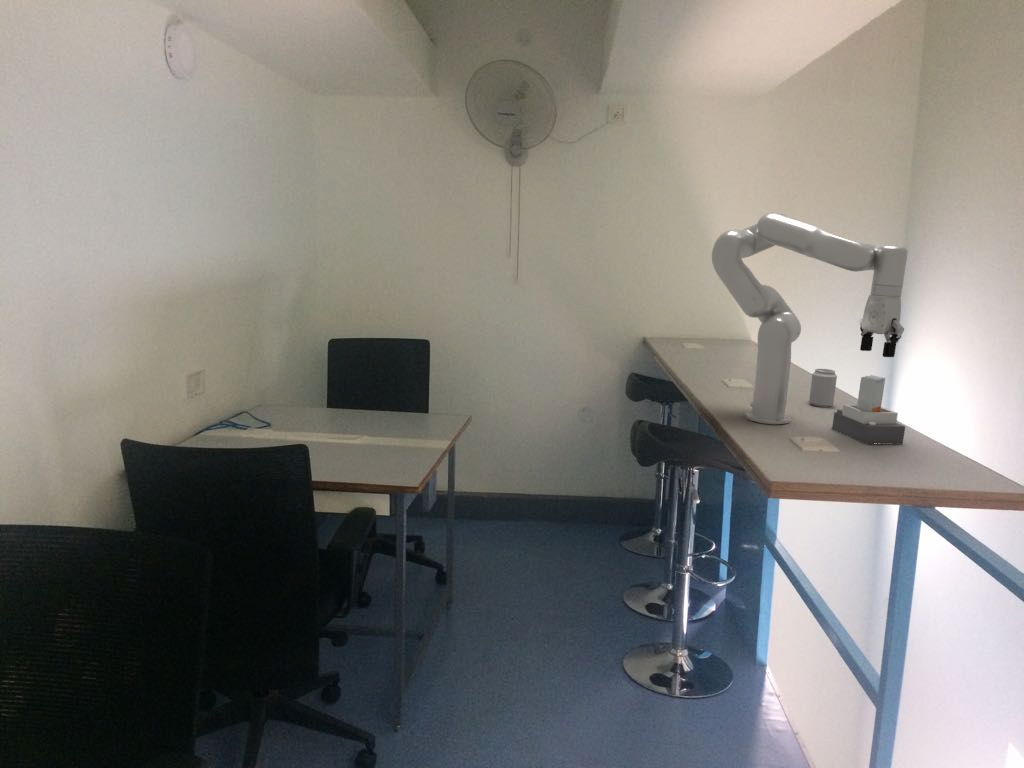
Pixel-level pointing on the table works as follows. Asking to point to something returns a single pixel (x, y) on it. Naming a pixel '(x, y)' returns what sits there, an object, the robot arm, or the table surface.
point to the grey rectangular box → (869, 425)
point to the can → (823, 387)
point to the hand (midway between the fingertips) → (876, 353)
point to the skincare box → (871, 393)
